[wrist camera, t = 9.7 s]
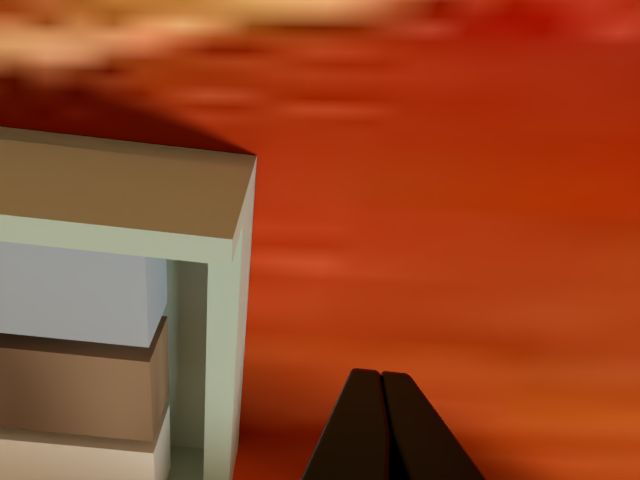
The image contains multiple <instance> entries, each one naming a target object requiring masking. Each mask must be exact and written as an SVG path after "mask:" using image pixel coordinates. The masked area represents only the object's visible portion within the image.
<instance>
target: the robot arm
mask: <svg viewBox="0 0 640 480" xmlns="http://www.w3.org/2000/svg"><path fill="white" fill-rule="evenodd" d="M301 480H486V479H485V477H484V476H483V475H482V473H481V472H480V470H479V469H478V468H477V466H476V465H475V464H474V462H473V461H472V460H471V458H470V457H469V455H468V454H467V453H466V451H465V450H464V449H463V447H462V446H461V444H460V443H459V442H458V440H457V439H456V438H455V436H454V435H453V434H452V432H451V431H450V429H449V428H448V427H447V425H446V424H445V423H444V421H443V420H442V419H441V417H440V416H439V414H438V413H437V412H436V410H435V409H434V408H433V406H432V405H431V404H430V402H429V401H428V399H427V398H426V397H425V395H424V394H423V393H422V391H421V390H420V389H419V387H418V386H417V384H416V383H415V382H414V380H413V379H412V378H411V376H409V375H408V374H406V373H399V372H389V371H384V372H382V373H381V374H379V372H378V371H376V370H369V369H359V368H354V369H352V370H351V372H350V374H349V376H348V378H347V380H346V382H345V385H344V387H343V389H342V391H341V393H340V395H339V398H338V400H337V402H336V404H335V406H334V409H333V411H332V413H331V415H330V417H329V419H328V422H327V424H326V426H325V428H324V430H323V433H322V435H321V437H320V439H319V441H318V443H317V446H316V448H315V450H314V452H313V454H312V457H311V459H310V461H309V463H308V465H307V467H306V470H305V472H304V474H303V476H302V478H301Z"/></svg>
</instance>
